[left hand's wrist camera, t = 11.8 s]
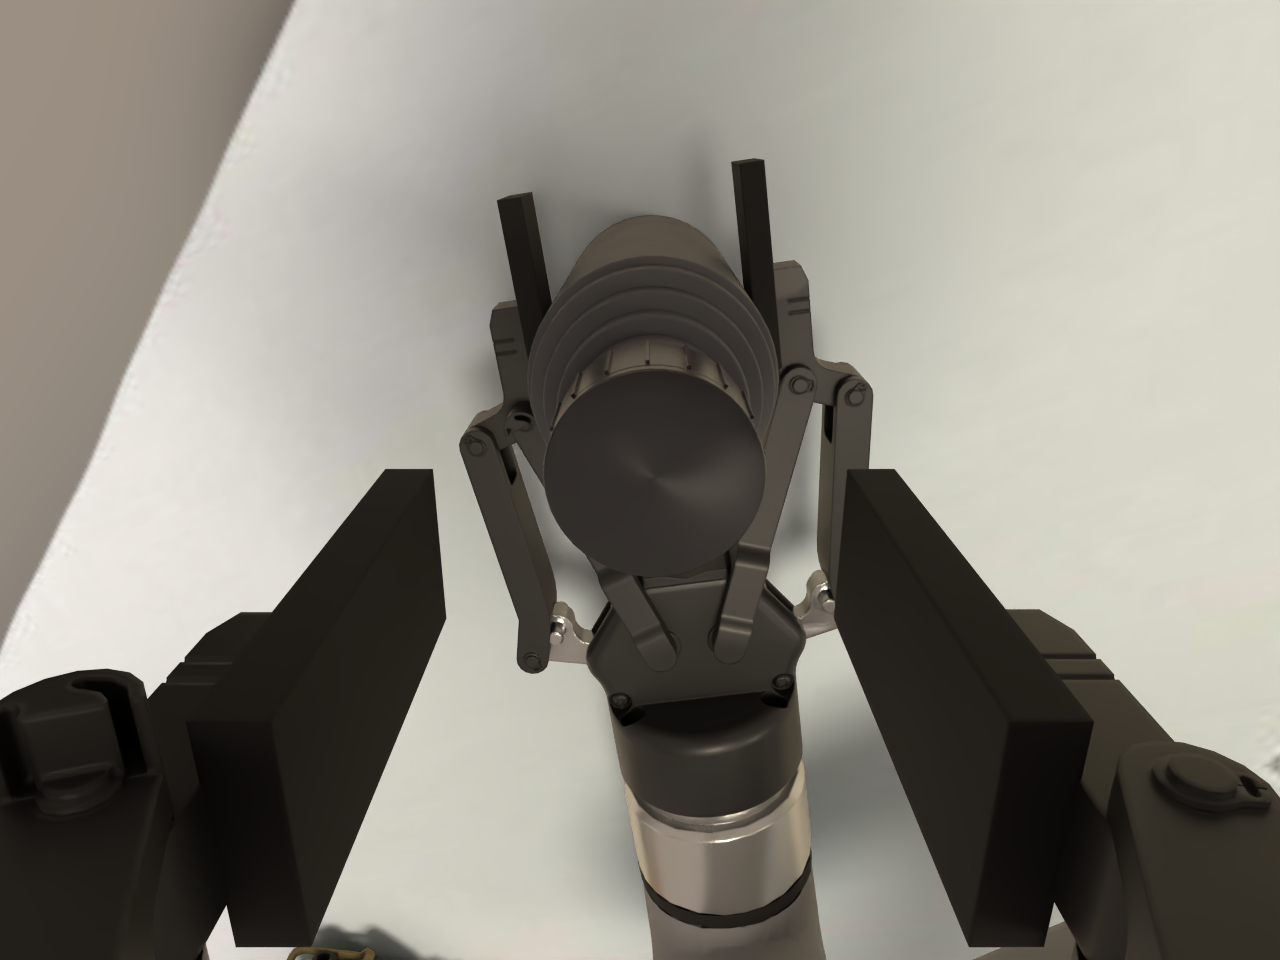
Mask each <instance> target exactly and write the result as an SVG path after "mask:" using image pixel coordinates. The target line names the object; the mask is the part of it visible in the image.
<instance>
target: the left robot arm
mask: <svg viewBox="0 0 1280 960" xmlns="http://www.w3.org/2000/svg"><path fill="white" fill-rule="evenodd" d="M445 620H446V610H445V599H444V587H443V576H442V565H441V554H440V543H439V532H438V521H437V510H436V499H435V488H434V477H433V469H385V470H384V472H383V473H382V474H381V475H380V477H379V478H378V479H377V480H376V482H375V483H374V484H373V486H372V487H371V488H370V489H369V491H368V492H367V493H366V494H365V496H364V497H363V498H362V499H361V501H360V502H359V503H358V504H357V506H356V507H355V508H354V510H353V511H352V512H351V513H350V515H349V516H348V517H347V518H346V520H345V521H344V522H343V523H342V525H341V526H340V527H339V528H338V530H337V531H336V532H335V533H334V535H333V536H332V537H331V539H330V540H329V541H328V542H327V544H326V545H325V546H324V547H323V549H322V550H321V551H320V552H319V554H318V555H317V556H316V557H315V559H314V560H313V561H312V563H311V564H310V565H309V566H308V568H307V569H306V570H305V571H304V573H303V574H302V575H301V576H300V578H299V579H298V580H297V581H296V583H295V584H294V585H293V586H292V588H291V589H290V590H289V592H288V593H287V594H286V595H285V597H284V598H283V599H282V600H281V602H280V603H279V604H278V605H277V607H276V608H275V609H274V610H273V612H241V613H239V614H237V615H236V616H234V617H232V618H231V619H229V620H227V621H226V622H224V623H222V624H221V625H219V626H217V627H216V628H214V629H212V630H211V631H209V632H207V633H206V634H205V635H204V636H203V638H202V639H201V640H200V641H199V642H198V643H197V644H196V645H195V646H194V648H193V649H192V650H191V651H190V652H189V653H188V654H187V655H186V657H185V661H184V662H180V663H179V664H178V665H177V667H176V668H175V669H174V670H173V671H172V672H171V673H170V674H169V676H168V677H167V681H166V683H161V684H160V686H159V687H158V688H157V689H156V690H155V691H154V692H153V693H152V695H151V696H150V697H149V698H148V699H147V696H146V692H145V688H144V684H143V682H142V681H141V680H140V679H138V678H137V677H135V676H134V675H133V674H131V673H130V672H124V671H118V670H112V669H97V670H83V671H75V672H71V673H67V674H63V675H59V676H55V677H51V678H47V679H44V680H41V681H39V682H36V683H34V684H31V685H29V686H27V687H24V688H22V689H19V690H17V691H14V692H12V693H11V694H9V695H8V696H6V697H5V698H3V699H1V700H0V960H209V955H208V951H207V947H206V941H207V940H208V938H209V936H210V934H211V932H212V930H213V929H214V927H215V925H216V923H217V921H218V919H219V918H220V916H221V914H222V912H223V910H224V908H225V907H226V905H227V909H228V914H229V918H230V923H231V927H232V932H233V936H234V941H235V945H236V947H311V946H312V943H313V941H314V939H315V936H316V934H317V931H318V929H319V926H320V924H321V922H322V919H323V917H324V914H325V912H326V909H327V907H328V905H329V902H330V900H331V897H332V895H333V892H334V890H335V888H336V885H337V883H338V880H339V878H340V875H341V873H342V871H343V868H344V866H345V863H346V861H347V858H348V856H349V854H350V851H351V849H352V846H353V844H354V841H355V839H356V837H357V834H358V832H359V829H360V827H361V824H362V822H363V820H364V817H365V815H366V812H367V810H368V807H369V805H370V803H371V800H372V798H373V795H374V793H375V790H376V788H377V786H378V783H379V781H380V778H381V776H382V773H383V771H384V769H385V766H386V764H387V761H388V759H389V756H390V754H391V752H392V749H393V747H394V744H395V742H396V739H397V737H398V735H399V732H400V730H401V727H402V725H403V722H404V720H405V718H406V715H407V713H408V710H409V708H410V705H411V703H412V701H413V698H414V696H415V693H416V691H417V688H418V686H419V684H420V681H421V679H422V676H423V674H424V671H425V669H426V667H427V664H428V662H429V659H430V657H431V654H432V652H433V650H434V647H435V645H436V642H437V640H438V637H439V635H440V633H441V630H442V628H443V625H444V623H445ZM834 620H835V623H836V625H837V628H838V630H839V633H840V635H841V637H842V640H843V642H844V645H845V647H846V650H847V652H848V654H849V657H850V659H851V662H852V664H853V667H854V669H855V671H856V674H857V676H858V679H859V681H860V684H861V686H862V688H863V691H864V693H865V696H866V698H867V701H868V703H869V705H870V708H871V710H872V713H873V715H874V718H875V720H876V722H877V725H878V727H879V730H880V732H881V735H882V737H883V739H884V742H885V744H886V747H887V749H888V752H889V754H890V756H891V759H892V761H893V764H894V766H895V769H896V771H897V773H898V776H899V778H900V781H901V783H902V786H903V788H904V790H905V793H906V795H907V798H908V800H909V803H910V805H911V807H912V810H913V812H914V815H915V817H916V820H917V822H918V824H919V827H920V829H921V832H922V834H923V837H924V839H925V841H926V844H927V846H928V849H929V851H930V854H931V856H932V858H933V861H934V863H935V866H936V868H937V871H938V873H939V875H940V878H941V880H942V883H943V885H944V888H945V890H946V892H947V895H948V897H949V900H950V902H951V905H952V907H953V909H954V912H955V914H956V917H957V919H958V922H959V924H960V926H961V929H962V931H963V934H964V936H965V939H966V941H967V943H968V946H969V947H1044V945H1045V941H1046V936H1047V932H1048V927H1049V923H1050V918H1051V914H1052V909H1053V905H1054V902H1055V904H1056V906H1057V908H1058V909H1059V911H1060V913H1061V915H1062V917H1063V919H1064V920H1065V922H1066V924H1067V926H1068V928H1069V929H1070V931H1071V933H1072V935H1073V937H1074V939H1075V943H1074V947H1073V951H1072V955H1071V960H1280V797H1279V796H1278V795H1277V793H1276V792H1275V791H1274V790H1273V788H1272V787H1271V786H1270V784H1269V783H1267V782H1266V781H1264V780H1263V779H1262V778H1260V777H1259V776H1258V775H1256V774H1255V773H1254V772H1252V771H1251V770H1249V769H1248V768H1247V767H1245V766H1244V765H1242V764H1240V763H1237V762H1235V761H1233V760H1231V759H1229V758H1227V757H1225V756H1223V755H1221V754H1219V753H1216V752H1214V751H1211V750H1207V749H1204V748H1200V747H1197V746H1193V745H1190V744H1186V743H1181V742H1174V741H1173V739H1172V738H1171V737H1170V736H1169V735H1168V734H1167V733H1166V732H1165V731H1164V729H1163V728H1162V727H1161V726H1160V725H1159V724H1158V723H1157V722H1156V721H1155V719H1154V718H1153V717H1152V716H1151V715H1150V714H1149V713H1148V712H1147V711H1146V709H1145V708H1144V707H1143V706H1142V705H1141V704H1140V703H1139V702H1138V701H1137V699H1136V698H1135V697H1134V696H1133V695H1132V694H1131V693H1130V692H1129V691H1128V689H1127V688H1126V687H1125V686H1124V685H1123V684H1122V683H1121V682H1120V681H1119V680H1115V679H1114V674H1113V673H1112V672H1111V671H1110V669H1109V668H1108V667H1107V666H1106V665H1105V664H1104V663H1103V662H1102V661H1101V659H1096V654H1095V653H1094V652H1093V651H1092V649H1091V648H1090V647H1089V646H1088V645H1087V644H1086V643H1085V642H1084V641H1083V639H1082V638H1081V637H1080V636H1079V635H1078V634H1077V633H1076V632H1075V631H1074V630H1073V629H1071V628H1070V627H1068V626H1066V625H1065V624H1063V623H1061V622H1060V621H1058V620H1056V619H1055V618H1053V617H1051V616H1050V615H1048V614H1046V613H1045V612H1043V611H1041V610H1040V609H1005V608H1004V607H1003V605H1002V604H1001V603H1000V602H999V600H998V599H997V598H996V597H995V595H994V594H993V593H992V592H991V590H990V589H989V588H988V586H987V585H986V584H985V583H984V581H983V580H982V579H981V578H980V576H979V575H978V574H977V573H976V571H975V570H974V569H973V568H972V566H971V565H970V564H969V563H968V561H967V560H966V559H965V557H964V556H963V555H962V554H961V552H960V551H959V550H958V549H957V547H956V546H955V545H954V544H953V542H952V541H951V540H950V539H949V537H948V536H947V535H946V533H945V532H944V531H943V530H942V528H941V527H940V526H939V525H938V523H937V522H936V521H935V520H934V518H933V517H932V516H931V515H930V513H929V512H928V511H927V510H926V508H925V507H924V506H923V504H922V503H921V502H920V501H919V499H918V498H917V497H916V496H915V494H914V493H913V492H912V491H911V489H910V488H909V487H908V486H907V484H906V483H905V482H904V480H903V479H902V478H901V477H900V475H899V474H898V473H897V472H896V470H895V469H847V477H846V488H845V499H844V510H843V521H842V532H841V543H840V554H839V565H838V576H837V587H836V598H835V610H834Z"/></svg>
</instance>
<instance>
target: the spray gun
mask: <svg viewBox="0 0 1280 960" xmlns="http://www.w3.org/2000/svg"><path fill="white" fill-rule="evenodd" d="M300 954H314V955H315V956H314V957H313V959H303V960H346V958H347V959H351V960H352V959H355V960H382V959H380V958H379V957H378V956H375V953H374V951H373V950H371V949H369V948H368V947H367V948H365V949H364V950H362V951H361V952H356V951H348V950H340V949H332V948H324V947H316V946H311V947H297V948H295V949H293V951H292V952H291V953H290V954H289V956H288V958H287V960H295V958H296V957H297V956H299V955H300ZM374 956H375V957H374Z"/></svg>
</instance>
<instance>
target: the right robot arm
mask: <svg viewBox="0 0 1280 960" xmlns="http://www.w3.org/2000/svg"><path fill="white" fill-rule="evenodd" d="M731 163H732V173H733V183H734V193H735V204H736V214H737V224H738V234H739V244H740V254H741V264H742V274H743V284H744V290H745V291H746V293H747V294H748V296H749V297H750V299H751V300H752V302H753V303H754V305H755V307H756V308H757V310H758V311H759V313H760V314H761V316H762V318H763V320H764V322H765V324H766V325H767V327H768V329H769V332H770V335H771V338H772V340H773V343H774V347H775V352H776V356H777V362H778V375H779V378H778V393H777V398H776V403H775V408H774V411H773V414H772V417H771V420H770V423H769V425H768V428H767V431H766V433H765V435H764V437H763V439H762V443H763V446H764V448H765V451H766V455H765V462H766V484H765V490H764V495H763V499H762V502H761V505H760V508H759V510H758V512H757V514H756V516H755V518H754V520H753V522H752V524H751V525H750V527H749V528H748V530H747V531H746V533H745V534H744V535H743V536H742V537H741V539H740V540H739V541H738V542H737V543H736V544H735V545H734V546H733V547H732V548H730V549H729V550H728V551H727V552H726V553H725V554H723V555H722V556H720V557H719V558H717V559H716V560H714V561H712V562H710V563H709V564H707V565H705V566H703V567H700V568H698V569H695V570H692V571H689V572H686V573H681V574H677V575H671V576H662V577H646V576H638V575H632V574H627V573H623V572H619V571H617V570H614V569H611V568H609V567H606V566H604V565H602V564H601V563H599V562H597V561H595V560H593V559H592V558H590V557H589V556H587V555H586V554H585V555H586V556H587V558H588V560H589V561H590V563H591V564H592V566H593V568H594V569H595V571H596V573H597V576H598V579H599V583H600V585H601V588H602V590H603V591H604V593H605V595H606V596H607V598H608V600H609V601H608V602H607V604H606V606H605V608H604V609H603V611H602V613H601V614H600V616H599V618H598V620H597V621H596V623H595V625H594V626H593V628H592V630H586V629H584V628H582V627H580V626H579V625H578V623H577V622H576V619H575V615H574V612H573V610H572V609H571V608H570V607H569V606H568V605H567V604H566V603H565V602H562V601H561V602H557V591H556V583H555V579H554V575H553V571H552V568H551V565H550V562H549V559H548V556H547V553H546V550H545V546H544V543H543V540H542V537H541V534H540V531H539V528H538V525H537V522H536V519H535V516H534V513H533V509H532V506H531V503H530V500H529V497H528V494H527V491H526V488H525V485H524V482H523V479H522V476H521V473H520V469H519V466H518V463H517V460H516V457H515V454H514V451H513V448H512V444H514V443H516V442H517V444H518V446H519V447H520V449H521V450H522V452H523V454H524V455H525V457H526V459H527V460H528V462H529V463H530V465H531V467H532V468H533V470H534V472H535V473H536V475H537V476H538V478H539V480H540V481H541V483H542V485H543V486H544V474H543V463H544V458H545V453H546V449H547V445H546V443H545V441H544V439H543V437H542V435H541V433H540V431H539V428H538V426H537V424H536V421H535V418H534V415H533V412H532V409H531V404H530V399H529V394H528V378H527V375H528V363H529V357H530V352H531V348H532V344H533V341H534V338H535V336H536V333H537V330H538V328H539V326H540V324H541V322H542V320H543V319H544V317H545V315H546V313H547V311H548V310H549V308H550V306H551V305H552V301H551V296H550V290H549V285H548V279H547V274H546V268H545V262H544V257H543V251H542V246H541V240H540V235H539V229H538V223H537V218H536V212H535V207H534V201H533V196H532V192H530V193H523V194H517V195H510V196H507V197H505V198H502V199H499V200H497V203H498V208H499V213H500V219H501V224H502V229H503V234H504V239H505V244H506V249H507V255H508V260H509V265H510V270H511V275H512V280H513V286H514V291H515V296H516V300H514V301H507V302H500V303H498V304H497V306H496V307H495V308H494V309H493V310H492V315H491V321H490V330H491V335H492V340H493V343H494V344H493V345H494V350H495V353H496V359H497V364H498V369H499V374H500V379H501V383H502V388H503V393H504V401H503V402H502V403H501V404H499V405H497V406H496V407H494V408H492V409H490V410H488V411H482V412H480V413H478V414H477V415H476V416H475V417H474V419H473V420H472V422H471V424H470V425H469V427H468V428H467V430H466V431H465V433H464V435H463V436H462V438H461V440H460V444H459V447H460V452H461V455H462V458H463V461H464V464H465V467H466V470H467V473H468V475H469V478H470V481H471V484H472V487H473V490H474V493H475V496H476V498H477V501H478V504H479V507H480V510H481V513H482V516H483V519H484V521H485V524H486V527H487V530H488V533H489V536H490V539H491V542H492V544H493V547H494V550H495V553H496V556H497V559H498V562H499V565H500V567H501V570H502V573H503V576H504V579H505V582H506V585H507V588H508V590H509V593H510V596H511V599H512V602H513V605H514V608H515V611H516V613H517V616H518V619H519V628H518V646H517V663H518V665H519V667H520V668H521V669H522V670H523V671H525V672H527V673H531V674H534V673H539V672H541V671H543V670H544V669H545V668H546V667H547V665H548V661H558V662H569V663H580V664H587V665H588V668H589V670H590V672H591V673H592V674H593V676H594V677H595V678H596V679H597V680H598V681H599V682H600V683H601V685H602V686H603V688H604V690H605V692H606V695H607V700H608V705H609V710H610V715H611V721H612V726H613V732H614V737H615V742H616V748H617V753H618V758H619V764H620V769H621V773H622V776H623V778H624V780H625V787H624V792H625V797H626V802H627V807H628V812H629V817H630V822H631V826H632V831H633V836H634V841H635V846H636V851H637V856H638V864H639V868H640V872H641V876H642V880H643V884H644V890H645V897H646V904H647V910H648V917H649V924H650V930H651V938H652V948H653V960H826V956H825V952H824V947H823V942H822V936H821V930H820V924H819V917H818V908H817V901H816V893H815V885H814V878H813V870H812V862H811V860H812V852H811V829H810V819H809V809H808V800H807V790H806V780H805V770H804V763H803V761H802V759H801V758H802V736H801V726H800V715H799V704H798V693H797V683H796V665H797V662H798V659H799V657H800V655H801V653H802V652H803V650H804V647H805V644H806V639H807V638H810V637H813V636H816V635H819V634H822V633H825V632H828V631H831V630H834V629H837V625H836V623H835V620H834V610H835V598H836V587H837V576H838V565H839V554H840V543H841V532H842V521H843V510H844V499H845V488H846V477H847V469H869V455H870V440H871V424H872V408H873V391H872V388H871V387H870V385H869V384H868V382H867V381H866V380H865V379H864V378H863V377H862V376H861V375H860V374H859V373H858V371H857V370H856V369H855V368H854V367H853V366H851V365H850V364H848V363H844V362H839V363H833V362H828V361H824V360H820V359H818V358H816V357H815V356H814V351H813V339H812V325H811V312H810V299H809V284H808V279H807V277H806V275H805V273H804V271H803V269H802V267H801V265H800V264H798V263H797V262H796V261H795V260H792V261H785V262H778V263H773V257H772V246H771V234H770V222H769V211H768V199H767V188H766V176H765V164H764V160H762V159H755V158H753V159H747V160H740V161H733V162H731ZM813 402H815V403H820V404H823V405H822V430H821V454H820V478H819V503H818V527H817V552H818V558H819V563H820V566H821V570H816V571H815V572H813V573H812V575H811V577H810V578H809V579H808V581H807V584H806V588H807V594H806V597H805V599H804V600H803V601H802V602H801V603H800V604H798V605H796V606H794V605H793V604H792V603H791V602H790V601H789V600H788V599H787V598H786V597H785V596H784V595H783V594H782V593H780V592H779V591H778V590H777V589H776V588H775V587H774V586H773V585H772V584H771V583H770V582H769V581H768V580H767V579H766V577H767V573H768V569H769V563H770V551H771V547H772V543H773V540H774V536H775V533H776V529H777V526H778V522H779V519H780V516H781V512H782V509H783V505H784V502H785V498H786V495H787V491H788V488H789V484H790V481H791V477H792V474H793V471H794V467H795V464H796V460H797V457H798V453H799V450H800V446H801V443H802V439H803V436H804V432H805V429H806V425H807V422H808V419H809V415H810V412H811V408H812V405H813ZM544 488H545V487H544ZM1074 943H1075V939H1074V937H1073V935H1072V933H1071V931H1070V929H1069V928H1068V926H1067V924H1066V922H1065V921H1064V922H1062V923H1060V924H1057V925H1055V926H1052V927H1050V928H1048V932H1047V936H1046V941H1045V945H1044V947H1002V948H1000V949H997V950H995V951H993V952H990V953H988V954H986V955H983V956H981V957H978V958H976V959H974V960H1071V955H1072V951H1073V947H1074Z"/></svg>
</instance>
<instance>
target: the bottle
mask: <svg viewBox="0 0 1280 960" xmlns="http://www.w3.org/2000/svg"><path fill="white" fill-rule="evenodd" d="M645 341H650V342H662V343H669V344H676V345H680V346H683V347H684V345H687V346H688V348H690V349H692V350H694V351H697V352H699V353H701V354H703V355H705V356H706V357H708V358H710V359H711V360H713V361H714V362H715V363H717V364H718V363H721V364H722V367H723V369H724V370H725V371H726V372H727V373H728V374H729V375H730V376H731V378H732V379H733V380H734V382H735V383H736V384H737V386H738V387H739V389H740V391H743V390H744V392H745V394H746V396H747V399H748V402H749V404H750V407H751V409H752V412H753V414H754V417H755V418H753V421H754V424H755V425H756V427H757V430H758V433H759V435H760V438H761V441H762V439H763V437H764V435H765V433H766V431H767V428H768V425H769V423H770V420H771V417H772V414H773V411H774V408H775V403H776V398H777V393H778V378H779V375H778V362H777V356H776V352H775V347H774V343H773V340H772V338H771V335H770V332H769V329H768V327H767V325H766V324H765V322H764V320H763V318H762V316H761V314H760V313H759V311H758V310H757V308H756V307H755V305H754V303H753V302H752V300H751V299H750V297H749V296H748V294H747V293H746V291H745V290H744V288H743V287H742V285H741V284H740V282H739V281H738V279H737V278H736V276H735V275H734V273H733V272H732V270H731V269H730V267H729V265H728V264H727V262H726V261H725V259H724V258H723V256H722V255H721V253H720V252H719V251H718V249H717V248H716V246H715V245H714V244H713V243H712V242H711V241H710V240H709V239H708V238H707V237H706V236H705V235H704V234H702V233H701V232H700V231H699V230H697V229H696V228H694V227H692V226H691V225H689V224H687V223H684V222H682V221H680V220H677V219H673V218H669V217H664V216H640V217H634V218H630V219H626V220H623V221H621V222H619V223H616V224H614V225H612V226H611V227H609V228H607V229H606V230H604V231H603V232H602V233H600V234H599V235H598V236H597V237H596V238H595V239H594V240H593V241H592V242H591V243H590V244H589V245H588V246H587V248H586V249H585V250H584V252H583V253H582V255H581V256H580V258H579V260H578V261H577V263H576V265H575V266H574V268H573V270H572V271H571V273H570V275H569V276H568V278H567V280H566V281H565V283H564V285H563V286H562V288H561V290H560V291H559V293H558V295H557V296H556V298H555V300H554V301H553V303H552V305H551V306H550V308H549V310H548V311H547V313H546V315H545V317H544V319H543V320H542V322H541V324H540V326H539V328H538V330H537V333H536V336H535V338H534V341H533V344H532V348H531V352H530V357H529V363H528V375H527V378H528V394H529V399H530V404H531V409H532V412H533V415H534V418H535V421H536V424H537V426H538V428H539V431H540V433H541V435H542V437H543V439H544V441H545V443H546V445H548V441H549V438H550V435H551V432H552V431H550V430H549V429H550V426H551V423H552V420H553V417H554V414H555V411H556V409H557V406H558V403H559V402H561V403H562V401H563V398H564V396H565V395H566V393H567V391H568V389H569V388H570V386H571V385H572V383H573V382H574V381H575V379H576V376H577V373H578V372H579V371H580V372H581V373H582V372H583V371H584V370H585V369H586V368H587V367H588V366H589V365H591V364H592V363H593V362H594V361H596V360H597V359H599V358H600V357H602V356H604V355H606V354H607V353H608V351H609V350H612V351H614V350H617V349H619V348H622V347H625V346H629V345H633V344H639V343H645Z"/></svg>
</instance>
